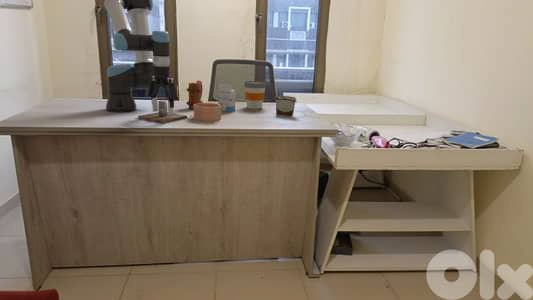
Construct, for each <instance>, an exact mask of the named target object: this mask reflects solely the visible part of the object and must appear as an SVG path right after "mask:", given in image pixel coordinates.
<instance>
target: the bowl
mask: <svg viewBox="0 0 533 300" xmlns="http://www.w3.org/2000/svg"><path fill="white" fill-rule="evenodd" d="M193 119H194V120H197V121H200V122H216V121H220V120H221V119H222V111H221V105H220V104H218V103H214V102H203V103H197V104H194V109H193Z"/></svg>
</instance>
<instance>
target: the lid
mask: <svg viewBox="0 0 533 300" xmlns="http://www.w3.org/2000/svg"><path fill="white" fill-rule="evenodd" d="M187 117H188V115H185V114H179V113H174V112H173V114H171V115H168V100H167V101H166V100H158V111H156V112H152V113H146V114H142V115H138V118H139V119H144V120H149V121H153V122H158V123H167V122H172V121H176V120H181V119H186V118H187ZM139 119H138V120H139ZM186 120H187V119H186ZM181 121H182V120H181ZM153 122H152V123H153ZM172 123H173V122H172ZM167 124H168V123H167Z"/></svg>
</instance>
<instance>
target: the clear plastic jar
mask: <svg viewBox="0 0 533 300" xmlns="http://www.w3.org/2000/svg"><path fill="white" fill-rule="evenodd" d="M232 86H233V85H232V84H223V83H221V84H220V83H219V84H218V91H217V94H218V95H217V99H218V102H217V104H220V105H221V112H222V111H223V112H228V113H229V112H230V113H231V112H235V111H236V89H232Z"/></svg>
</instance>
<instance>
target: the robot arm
mask: <svg viewBox="0 0 533 300" xmlns="http://www.w3.org/2000/svg"><path fill="white" fill-rule="evenodd" d="M102 2H103V7H104V9H105V11H107V13H108V15H109V19H110V21H111V23H112V27H113V29H114V33H115V34H113V36H112V42H113V48H114V49H115V50H116V51H120V52H121V51H122V52H134V53H135V54H134V55H135V61H134V63H133V66H132V65H131V64H130V63H129V64H128V63H126V64H125V63H124V64H116V65H115V64H114V65H110V66H108V68H107V69H106V70H107V71H106V77H107V87H108V88H107V90H108V97H107V100H106V104H105V110H106V111H107V112H111V113H113V112H114V113H126V112H127V113H128V112H133V111H136V110H137V104H136V101H135V98H134V96H133V90H148V92H147V96H148V97H150V98H151V105H152V113H157V112H159V108H158V101H159V100H158V93H159V90H160V88H161V87H162V88H163V89H164V91H165V94H166V96H167V98H168V100H167V112H168V115H171V114H173V113H174V107H175V101H177V100H178V95H177V91H176V86H175V79H174V78H170V76H169V75H170V74H171V67H170V64H171V63H170V59H171V57H170V35H169V32H168V31H165V30H163V31H162V30H161V31H160V30H153V31H151V34H150V26H149V17H148V16H149V15H150V14H151V11H152V10H153V9H154V8H153V7H154V5H153V4H154V1H153V0H102ZM125 10H126V11H127V13H126V12H125ZM126 14H127V15H129V17H130V21H131V22H129V20H128V16H127V15H126ZM130 23H131V24H130Z"/></svg>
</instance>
